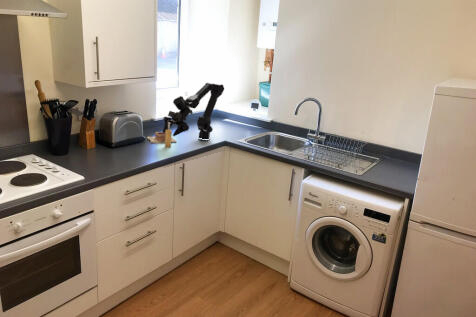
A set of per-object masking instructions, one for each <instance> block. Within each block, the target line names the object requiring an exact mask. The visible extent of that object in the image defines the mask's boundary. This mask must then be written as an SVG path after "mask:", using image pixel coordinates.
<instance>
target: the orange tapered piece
mask: <svg viewBox="0 0 476 317" xmlns="http://www.w3.org/2000/svg"><path fill="white" fill-rule="evenodd" d="M170 128H171V127H170V123H168V129H167V130H166V136H165V143H164V147H165V148H167V147H170V148H172V143H171V136H172V137H173V134H172V133H173V130H172V129H170Z"/></svg>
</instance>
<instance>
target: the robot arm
mask: <svg viewBox="0 0 476 317" xmlns="http://www.w3.org/2000/svg"><path fill="white" fill-rule="evenodd" d="M224 91H225V87H224V84H221V83H217V82H214V83H212V82H205V84H204V85H203V86H202V87H201V88H200V89H199V90H198V91H197V92H196V93H195V94H193V95H190V96H188V97H187V98H186V99H184V97H183V96H182V95H180V96H178V97H176V98H174V100H173V101H172V103H173V105H174V106H175V107H176V109H177V110H179V111H176V112H175V111H171V110H169V112H168V114H167V116H166V115H165V116H164V117H163V118H162V120H163V122H164V126H163V128H162V132H163V133H164V132H166V130H167V129H168V123H170V128H172V126H173V125H175V126H177V127H176V129H175V131H174V132H173V134H172V137H176V136H178V135H180V134H181V133H184V132H188V131H189V129H190V126H189V125H188V123H187V122H186V121H187V118H188V116H189V115H193V109H196V108H197V107H198V106H199V105H200V101H201V100H202V99H203V98H204V97H206V95H208V93H209V92H210V97H209V100H208V102H207V105H206V107H205V108H204V112H203V114H202V115H201V116H198V119H197V121H196V122H197V123H196V125H197V130H198V131H199V132H198V139H199V138H202V139H209V138H210V137H211V132H212V133H213V127H212V126H211V124H212V121H211V117H212V113H213V111H214V109H215V106H216V104H217V101H218V100H219V98H220V97H221V96H222V95H223V93H224ZM210 139H211V138H210Z"/></svg>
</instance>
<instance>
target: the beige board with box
mask: <svg viewBox="0 0 476 317" xmlns="http://www.w3.org/2000/svg"><path fill="white" fill-rule="evenodd" d="M165 136H166V132H164V133H163V131H155V132H154V136H147V140H148V141H149V140H150V141H149V142H150V143H151V144H165V143H164V142H165ZM171 142H176V143H177V140H176V139H175V138H174V136H173V135H172V136H171Z"/></svg>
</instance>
